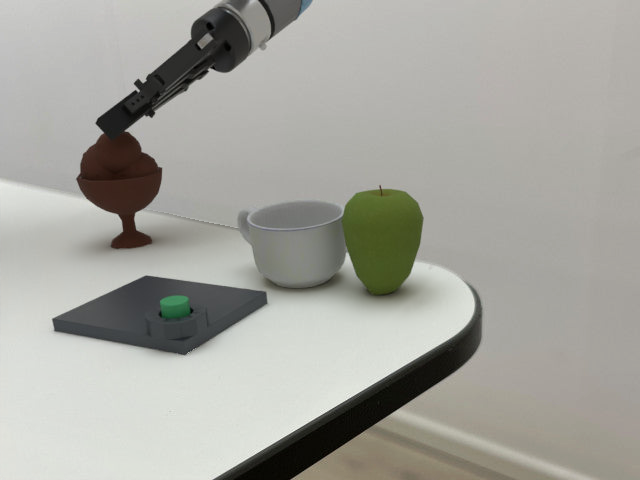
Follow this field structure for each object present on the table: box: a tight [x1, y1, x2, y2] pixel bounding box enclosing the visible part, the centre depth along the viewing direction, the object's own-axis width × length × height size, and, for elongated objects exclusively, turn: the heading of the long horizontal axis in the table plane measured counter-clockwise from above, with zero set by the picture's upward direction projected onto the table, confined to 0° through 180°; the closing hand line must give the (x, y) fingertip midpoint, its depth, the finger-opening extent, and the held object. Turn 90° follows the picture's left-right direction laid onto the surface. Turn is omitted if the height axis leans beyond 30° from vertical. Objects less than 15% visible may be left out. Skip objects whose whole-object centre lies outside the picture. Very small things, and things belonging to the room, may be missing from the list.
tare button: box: [160, 296, 191, 319], centre depth 71 cm, size 3×3×2 cm
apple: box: [341, 184, 424, 296], centre depth 80 cm, size 9×8×12 cm
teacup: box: [236, 198, 347, 289], centre depth 86 cm, size 14×11×8 cm
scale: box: [51, 275, 268, 356], centre depth 77 cm, size 16×14×3 cm
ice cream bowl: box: [75, 130, 163, 250], centre depth 100 cm, size 11×11×15 cm
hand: (105, 129), depth 92 cm, fingers closed
